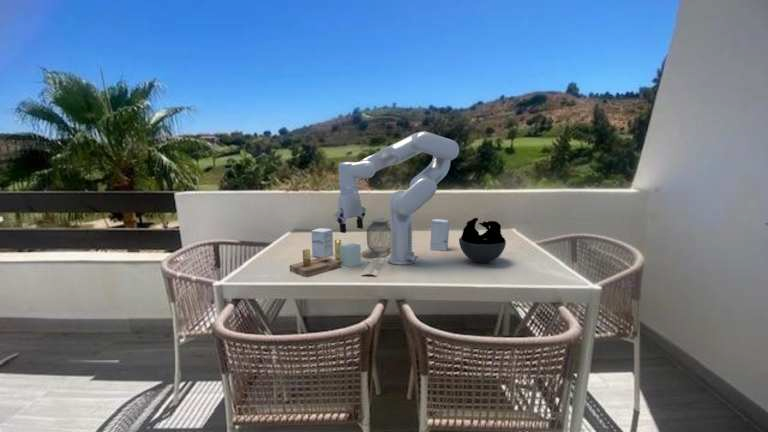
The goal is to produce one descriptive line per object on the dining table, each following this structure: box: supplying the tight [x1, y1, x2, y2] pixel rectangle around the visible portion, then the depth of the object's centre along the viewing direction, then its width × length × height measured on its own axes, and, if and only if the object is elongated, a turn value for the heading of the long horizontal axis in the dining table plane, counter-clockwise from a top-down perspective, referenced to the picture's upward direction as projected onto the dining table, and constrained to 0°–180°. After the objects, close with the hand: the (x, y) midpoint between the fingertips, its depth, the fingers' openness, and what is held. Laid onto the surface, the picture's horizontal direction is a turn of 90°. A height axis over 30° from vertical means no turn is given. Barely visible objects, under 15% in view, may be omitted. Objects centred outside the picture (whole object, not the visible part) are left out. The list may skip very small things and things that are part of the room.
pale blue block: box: [339, 242, 362, 268], centre depth 169 cm, size 6×6×9 cm
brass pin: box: [334, 239, 342, 261], centre depth 177 cm, size 3×3×9 cm
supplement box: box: [311, 227, 334, 258], centre depth 183 cm, size 7×7×13 cm
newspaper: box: [361, 257, 386, 278], centre depth 164 cm, size 24×7×2 cm, turn 172°
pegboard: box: [289, 248, 343, 278], centre depth 163 cm, size 12×18×9 cm, turn 136°
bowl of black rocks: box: [458, 217, 507, 264], centre depth 170 cm, size 20×20×19 cm
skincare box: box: [429, 218, 450, 252], centre depth 193 cm, size 8×6×15 cm
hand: (351, 230), depth 168 cm, fingers open, 9 cm apart
